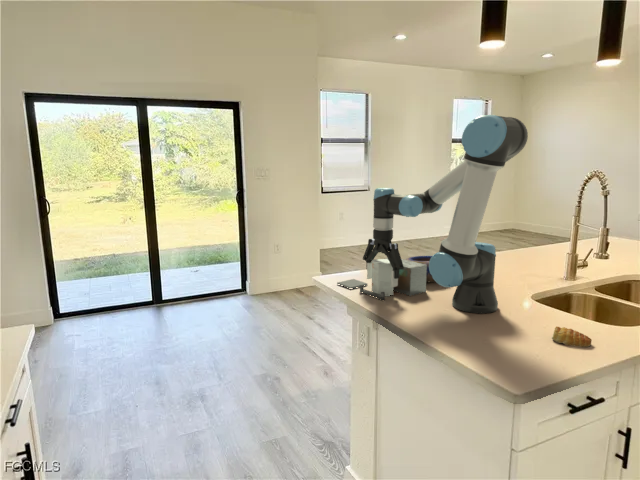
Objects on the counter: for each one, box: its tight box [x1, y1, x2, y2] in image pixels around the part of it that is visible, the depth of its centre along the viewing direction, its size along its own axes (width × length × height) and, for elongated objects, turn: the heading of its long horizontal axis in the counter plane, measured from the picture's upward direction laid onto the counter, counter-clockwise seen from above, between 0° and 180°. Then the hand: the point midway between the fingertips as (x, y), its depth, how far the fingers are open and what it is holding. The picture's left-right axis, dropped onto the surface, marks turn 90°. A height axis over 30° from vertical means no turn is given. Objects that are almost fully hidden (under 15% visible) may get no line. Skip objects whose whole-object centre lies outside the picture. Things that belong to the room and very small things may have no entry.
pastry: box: [551, 326, 592, 348], centre depth 119 cm, size 9×7×4 cm
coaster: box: [336, 278, 368, 289], centre depth 177 cm, size 9×9×1 cm
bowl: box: [405, 255, 435, 283], centre depth 184 cm, size 18×18×10 cm
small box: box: [371, 258, 394, 297], centre depth 165 cm, size 8×6×13 cm
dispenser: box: [359, 257, 427, 301], centre depth 167 cm, size 18×21×11 cm
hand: (381, 282), depth 165 cm, fingers open, 13 cm apart
